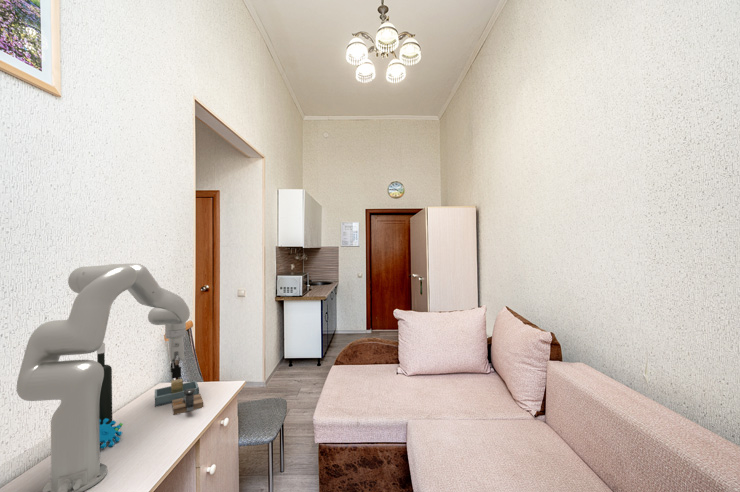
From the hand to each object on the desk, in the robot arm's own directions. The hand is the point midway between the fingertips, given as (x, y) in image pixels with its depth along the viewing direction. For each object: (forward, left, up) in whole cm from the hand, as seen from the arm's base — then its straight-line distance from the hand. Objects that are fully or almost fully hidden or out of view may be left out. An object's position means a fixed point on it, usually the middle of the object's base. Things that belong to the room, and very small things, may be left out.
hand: (175, 374), depth 137 cm
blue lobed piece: (-27, +20, -10) cm, 35 cm away
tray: (+1, 0, -10) cm, 10 cm away
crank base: (-12, -3, -10) cm, 16 cm away
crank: (-18, -3, -7) cm, 19 cm away
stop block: (0, 0, -9) cm, 9 cm away
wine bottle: (-15, +23, -10) cm, 29 cm away
